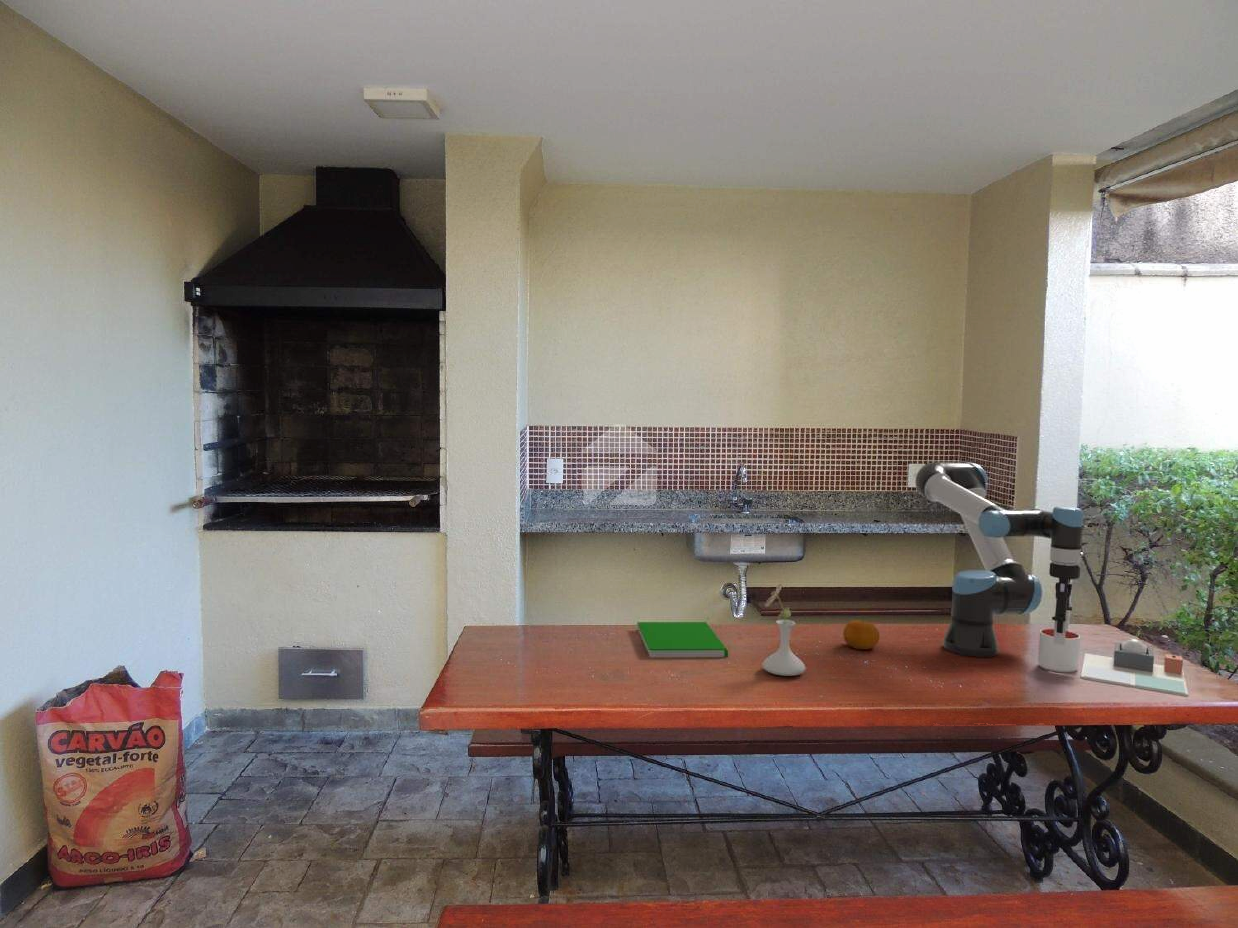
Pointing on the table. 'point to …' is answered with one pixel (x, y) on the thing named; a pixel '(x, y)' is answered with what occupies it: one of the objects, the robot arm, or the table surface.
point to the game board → (1138, 674)
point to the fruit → (861, 634)
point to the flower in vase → (783, 645)
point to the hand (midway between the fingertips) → (1060, 638)
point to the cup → (1059, 652)
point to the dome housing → (1133, 659)
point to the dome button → (1134, 646)
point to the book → (680, 639)
